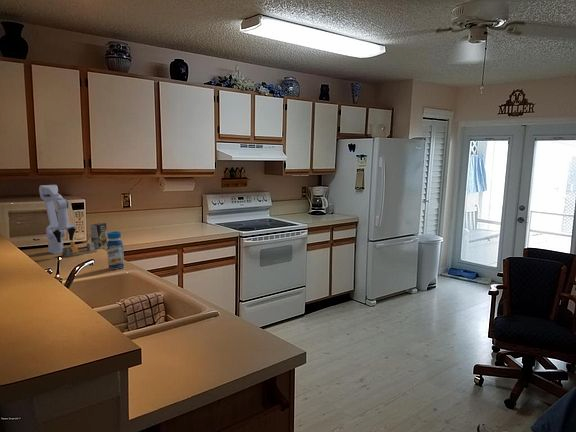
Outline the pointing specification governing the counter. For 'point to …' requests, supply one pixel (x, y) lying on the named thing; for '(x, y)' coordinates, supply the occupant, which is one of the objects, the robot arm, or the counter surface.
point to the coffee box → (99, 235)
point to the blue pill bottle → (115, 250)
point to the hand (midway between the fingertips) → (65, 241)
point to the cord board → (69, 253)
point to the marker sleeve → (73, 247)
